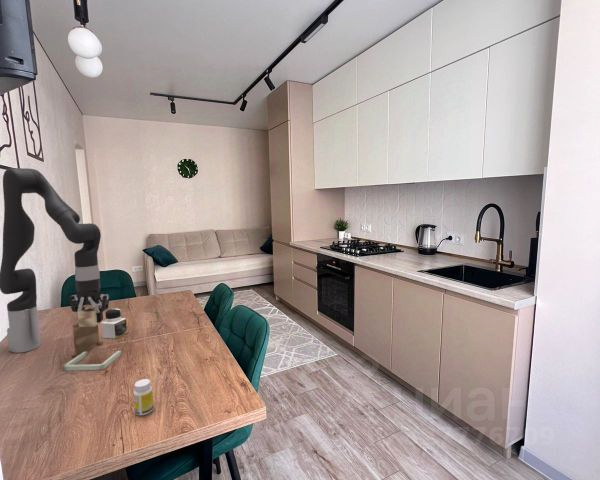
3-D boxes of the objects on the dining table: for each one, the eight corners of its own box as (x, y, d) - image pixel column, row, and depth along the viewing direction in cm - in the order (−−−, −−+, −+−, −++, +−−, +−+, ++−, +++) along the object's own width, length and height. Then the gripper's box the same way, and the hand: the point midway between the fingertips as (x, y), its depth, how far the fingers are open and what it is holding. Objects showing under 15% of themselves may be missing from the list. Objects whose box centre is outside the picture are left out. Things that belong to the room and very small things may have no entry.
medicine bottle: (115, 339, 144) (113, 312, 143) (101, 337, 145) (99, 311, 144) (127, 332, 151) (125, 307, 150) (114, 331, 152) (112, 307, 151)
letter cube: (79, 326, 119) (77, 311, 118) (88, 321, 124) (87, 307, 124) (94, 326, 119) (93, 311, 118) (103, 321, 124) (101, 306, 124)
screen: (71, 357, 126) (68, 325, 125) (91, 343, 139) (89, 314, 138) (84, 357, 126) (81, 325, 125) (103, 343, 139) (101, 314, 138)
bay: (62, 370, 116) (62, 366, 116) (84, 355, 128) (83, 351, 128) (103, 369, 116) (102, 365, 116) (121, 354, 129) (120, 350, 128)
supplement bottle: (156, 405, 95) (154, 377, 94) (149, 415, 90) (147, 386, 89) (139, 405, 95) (137, 378, 94) (131, 416, 90) (129, 387, 89)
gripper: (60, 280, 116) (64, 326, 118) (101, 279, 116) (105, 325, 118) (74, 276, 123) (78, 319, 125) (113, 275, 124) (116, 318, 126)
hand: (91, 321), depth 122 cm, fingers closed on letter cube, 5 cm apart
